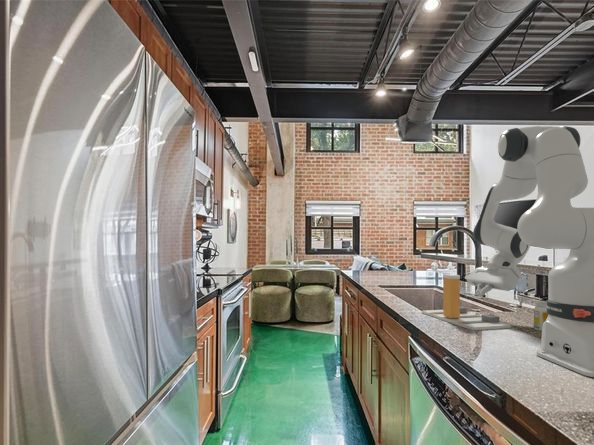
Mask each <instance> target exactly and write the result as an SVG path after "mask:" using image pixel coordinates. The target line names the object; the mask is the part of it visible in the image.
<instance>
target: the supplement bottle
mask: <svg viewBox="0 0 594 445" xmlns="http://www.w3.org/2000/svg"><path fill="white" fill-rule="evenodd" d="M535 304H536V305H535V307H534V308H533V327H534V330H535V331H538V332H542V327H543V323H544V322H545V321H546V319H547V317H548V313H547V308H546V304H547V300H536V302H535Z"/></svg>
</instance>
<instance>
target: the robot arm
mask: <svg viewBox="0 0 594 445" xmlns="http://www.w3.org/2000/svg"><path fill="white" fill-rule="evenodd" d="M580 135H581V134H580V132H579V131H578V130H577V128H575V127H572V126H568V125H567V126H566V125H560V126H550V125H549V126H547V125H546V126H545V125H544V126H539V125H536V126H526V127H520V128H518V127H515V128H510V129H507V130H504V132H502V133H501V135H500V137H499V139H498V143H497V152H498V155H499V158H501V159H502V160H504V164H503V167H502V168H503V169H502V175H501V177H500V180H499V181H498V182H497V183H494V184H493V185H491V187H490V189H489V191H488V193H487V195H486V198H485V200H484V203H483V207H482V209H481V213H480V215H479V218H478V221H477V222H476V224H475V226H474V228H473V230H472V235H473V236H472V237H473V239H474V240H475V241H476V243H477V244H479V245H483V246H487V247H490V248H493V249H495V250H498V251H497V252H496V253H494V255H493V256H491V258H490V259H489V261H488V262H487V263H486V265H485V266H480V267H476V268H475V269H473V270H472V271H471V272H470V273H469V274H468V275H467V277H466V279H465V280H466V282H467V283H468V284H469V285H470V286H474V287H476V290H475V291H474V292H475V294H476V295H478V296H482V297H483V296H485V294H486V293H487V294H488V292H490V291H492V290H499V291H506V292H510V291H512V290H513V289H514V288H515V287H516V286H517V284H518V283H519V280H520V279H521V278H522V277H523V274H522V272H521V270H519V268H518V267H517V266H518V264H520V263H521V262H522V261H523V260H524V259H525V257H526V256H527V253H528V252H529V250H530V248H531V247H535V248H541V249H544V250H545V249H546V250H547V249H549V250H551V249H552V250H554V249H555V250H569V254H568V256H567V258H566V259H565V260H564V261H563V262H561V263H558V264H557V265H554V266H553V267H551V269H550V271H549V272H548V274H547V283H548V284H547V286H548V289H547V290H548V292H547V293H548V294H547V295H548V296H547V297H548V299H546V301H547V304H546V308H547V313H548V317H547V319H546V321H545V322H544V323H543V327H542V331H541V341H540V349H538V350H536V354H535V355H536V356H538V357H539V358H542V359H545V360H547V361H550V362H552V363H554V364H557V365H559V366H561V367H564V368H566V369H569V370H571V371H574V372H576V373H578V374H581V375H583V376H586V377H591V378H594V207H576V206H575V207H573V206H572V202H571V200H572V199H573V198H575V197H578V196H579V195H581V194H582V193H583V192H584V191H585V190H586V189H587V186H588V183H589V178H588V175H587V172H586V166H585V164H584V159H583V156H582V153H581V150H580V146H581V136H580ZM536 187H537V197H536V200H535V201H534V204H533V205H532V206H531V207H530V208H528V210H526V211H524V213H523V214H521V216H520V217H519V219H518V221H517V227H516V228H514V227H511V226H508V225H504V224H501V223H497V222H496V221H495V219H494V218H495V216H496V214H497V210H498V208H499V206H500V203H501V202H504V201H512V200H519V199H523V198H525V197H527V196H529V195H531V194H533V192H534V191H535V190H536Z"/></svg>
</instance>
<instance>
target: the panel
mask: <svg viewBox="0 0 594 445" xmlns="http://www.w3.org/2000/svg"><path fill="white" fill-rule="evenodd" d="M423 313H424V315H426V314H427V316H429V315H430V317H432V316H433V318H436V319H438V320H441V321H444V322H447V323H449V324H453V325H456V326H458V327H461V328H465V329H467V330H470V331H485V330H501V329H511V328H512V325H511V324H509V323H505V322H501V321H500V316H498V315H494V314H481V315H479V314H473V313H470V312H468V308H467V307H464V306H461V305H460V318H449V317H445V316H443V309H430V310H429V309H427V310H421V314H423Z"/></svg>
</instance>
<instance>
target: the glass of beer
mask: <svg viewBox="0 0 594 445" xmlns="http://www.w3.org/2000/svg"><path fill="white" fill-rule="evenodd" d="M442 278H443V279H442V280H443V282H442V287H443V288H442V290H443V292H442V295H443V297H442V298H443V299H442V304H443V306H442V307H443V308H442V310H443V316H445V317H449V318H460V306H461V304H460V303H461V301H460V300H461V299H460V298H461V295H460V292H461V289H460V288H461V287H460V286H461V283H460V281H461V280H460V279H461V275H460V274H452V273H449V274H448V273H447V274H443V273H442Z"/></svg>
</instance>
